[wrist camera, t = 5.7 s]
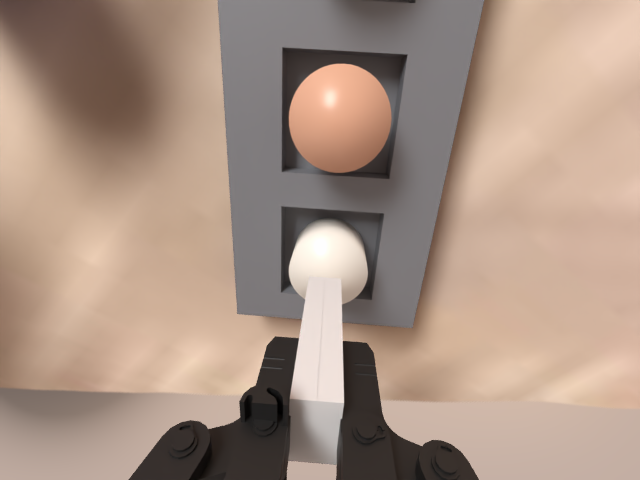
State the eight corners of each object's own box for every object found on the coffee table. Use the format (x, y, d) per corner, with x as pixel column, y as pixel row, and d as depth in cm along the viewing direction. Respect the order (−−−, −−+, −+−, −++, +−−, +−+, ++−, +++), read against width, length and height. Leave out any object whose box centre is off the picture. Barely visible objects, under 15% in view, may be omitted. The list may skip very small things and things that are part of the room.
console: (248, 290, 25) (237, 314, 22) (227, -210, 14) (199, -285, 11) (404, 302, 24) (412, 328, 22) (503, -201, 14) (544, -276, 11)
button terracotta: (296, 158, 17) (288, 169, 15) (298, 67, 16) (289, 60, 13) (376, 163, 17) (383, 176, 14) (388, 72, 15) (399, 66, 13)
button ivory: (294, 277, 21) (288, 303, 19) (296, 215, 20) (289, 234, 17) (360, 282, 21) (363, 309, 18) (367, 220, 19) (372, 240, 17)
